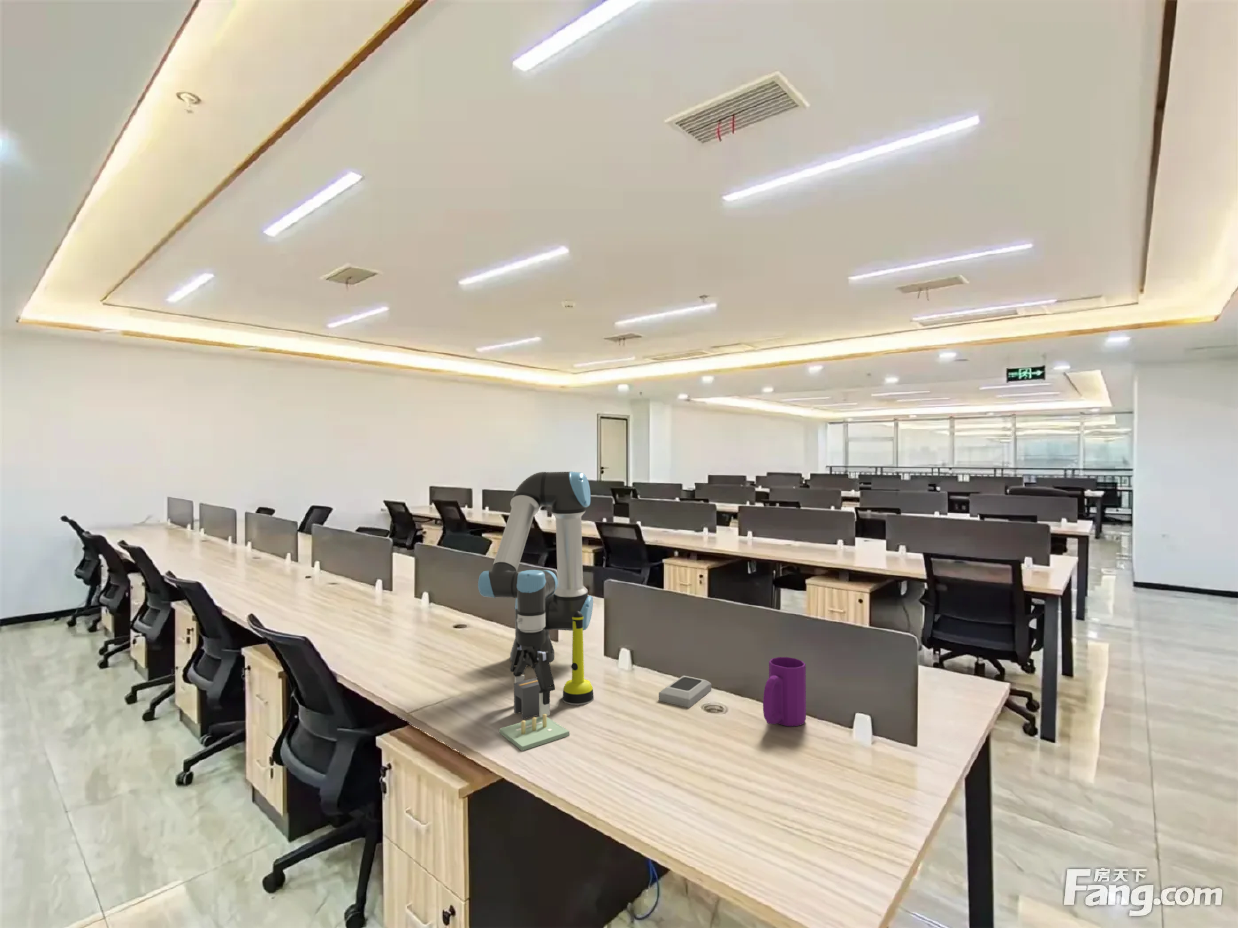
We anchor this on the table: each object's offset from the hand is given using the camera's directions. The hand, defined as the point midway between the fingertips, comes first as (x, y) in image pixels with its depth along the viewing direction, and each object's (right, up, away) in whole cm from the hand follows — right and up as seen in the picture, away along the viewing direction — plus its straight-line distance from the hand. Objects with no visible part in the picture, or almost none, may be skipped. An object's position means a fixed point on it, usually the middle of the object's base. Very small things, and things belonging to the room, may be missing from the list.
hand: (531, 707), depth 160 cm
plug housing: (0, -1, 0) cm, 1 cm away
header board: (+3, -1, -13) cm, 13 cm away
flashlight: (+12, -1, +9) cm, 15 cm away
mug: (+65, -1, -8) cm, 66 cm away
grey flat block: (+43, -2, +11) cm, 44 cm away
